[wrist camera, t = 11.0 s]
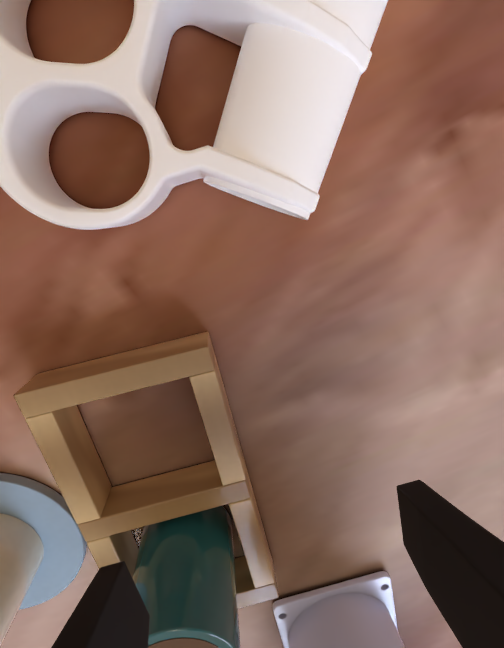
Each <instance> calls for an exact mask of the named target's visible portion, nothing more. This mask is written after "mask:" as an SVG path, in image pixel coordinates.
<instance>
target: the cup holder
mask: <svg viewBox="0 0 504 648" xmlns="http://www.w3.org/2000/svg"><path fill="white" fill-rule="evenodd" d="M186 377H189V379H190V382H191V385H192V388H193V392H194V395H195V398H196V401H197V404H198V408H199V411H200V414H201V417H202V421H203V424H204V427H205V430H206V433H207V437H208V440H209V443H210V446H211V449H212V453H213V456H214V459H215V460H214V461H210V462H206V463H203V464H199V465H195V466H191V467H187V468H184V469H180V470H176V471H172V472H168V473H165V474H161V475H157V476H153V477H149V478H146V479H142V480H138V481H134V482H130V483H127V484H123V485H119V486H115V487H112V486H111V484H110V481H109V479H108V477H107V474H106V472H105V470H104V467H103V465H102V463H101V461H100V458H99V456H98V454H97V451H96V449H95V447H94V444H93V442H92V440H91V437H90V435H89V433H88V431H87V428H86V426H85V424H84V421H83V419H82V417H81V414H80V412H79V410H78V408H77V405H79V404H83V403H87V402H91V401H95V400H99V399H103V398H107V397H111V396H115V395H118V394H122V393H126V392H130V391H134V390H138V389H142V388H146V387H150V386H154V385H158V384H162V383H166V382H170V381H174V380H178V379H182V378H186ZM14 398H15V400H16V402H17V404H18V406H19V408H20V410H21V412H22V414H23V416H24V418H26V419H25V420H26V422H27V424H28V426H29V428H30V430H31V432H32V434H33V436H34V438H35V440H36V442H37V444H38V446H39V448H40V451H41V453H42V455H43V457H44V459H45V461H46V463H47V465H48V467H49V469H50V471H51V473H52V475H53V477H54V479H55V481H56V483H57V485H58V487H59V489H60V491H61V493H62V495H63V497H64V499H65V501H66V503H67V505H68V507H69V509H70V511H71V513H72V515H73V517H74V519H75V521H76V523H77V524H78V527H79V529H80V531H81V533H82V535H83V537H84V539H85V541H86V542H87V545H88V547H89V549H90V551H91V553H92V555H93V558H94V560H95V562H96V564H97V566H98V568H99V569H100V568H101V567H104V566H107V565H111V564H115V563H118V562H122V561H125V563H126V566H127V568H128V570H129V572H130V574H131V576H132V578H133V573H134V569H135V564H136V560H137V555H138V550H139V548H138V546H137V544H136V541H135V539H134V537H133V535H132V532H131V530H133V529H137V528H140V527H144V526H148V525H151V524H155V523H159V522H163V521H166V520H170V519H174V518H178V517H181V516H185V515H189V514H192V513H196V512H200V511H204V510H207V509H211V508H215V507H219V506H222V505H226V504H229V507H230V510H231V513H232V517H233V520H234V523H235V526H236V530H237V533H238V536H239V539H240V542H241V546H242V549H243V552H244V555H245V556H242V557H239V558H235V574H236V589H237V603H238V609H240V608H244V607H247V606H251V605H254V604H258V603H261V602H265V601H269V600H272V599H276V598H279V593H278V588H277V582H276V576H275V571H274V565H273V561H272V557H271V554H270V550H269V547H268V543H267V539H266V536H265V532H264V529H263V525H262V521H261V518H260V514H259V511H258V507H257V504H256V500H255V496H254V493H253V489H252V486H251V482H250V478H249V475H248V471H247V468H246V464H245V461H244V457H243V454H242V450H241V446H240V442H239V439H238V435H237V432H236V428H235V424H234V421H233V417H232V414H231V410H230V407H229V403H228V399H227V396H226V392H225V389H224V385H223V381H222V378H221V374H220V371H219V367H218V364H217V360H216V356H215V354H214V349H213V346H212V342H211V339H210V335H209V332H204V333H200V334H196V335H192V336H188V337H184V338H180V339H176V340H171V341H167V342H163V343H159V344H155V345H151V346H147V347H143V348H139V349H135V350H131V351H127V352H123V353H119V354H115V355H111V356H107V357H103V358H99V359H95V360H91V361H87V362H83V363H79V364H75V365H71V366H67V367H63V368H59V369H55V370H51V371H47V372H43V373H39V374H36V375H35V376H34V377H33V378H32V379H31V380H30V381H29V382H28V383H27V384H25V385H24V386H23V387H22V388H21V389H20V390H19V391H18V392H17V393H15V394H14Z"/></svg>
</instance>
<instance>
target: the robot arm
mask: <svg viewBox="0 0 504 648" xmlns="http://www.w3.org/2000/svg"><path fill="white" fill-rule="evenodd" d="M397 493H398V501H399V509H400V517H401V525H402V533H403V542H404V545H405V547H406V549H407V552H408V554H409V556H410V558H411V560H412V562H413V564H414V566H415V568H416V570H417V572H418V574H419V576H420V578H421V579H422V581H423V583H424V585H425V587H426V589H427V591H428V592H429V594H430V596H431V597H432V599H433V601H434V602H435V604H436V605H437V607H438V609H439V610H440V612H441V614H442V615H443V617H444V618H445V620H446V622H447V623H448V625H449V626H450V628H451V630H452V631H453V633H454V634H455V636H456V638H457V639H458V641H459V642H460V644H461V646H462V647H463V648H504V542H503V541H501V540H500V539H499V538H497V537H496V536H494V535H493V534H491V533H490V532H489V531H487V530H486V529H484V528H483V527H482V526H480V525H479V524H478V523H476V522H475V521H473V520H472V519H471V518H469V517H468V516H467V515H465V514H464V513H463V512H461V511H460V510H459V509H457V508H456V507H455V506H453V505H452V504H451V503H449V502H448V501H447V500H446V499H444V498H443V497H442V496H440V495H439V494H438V493H436V492H435V491H434V490H433V489H431V488H430V487H429V486H427V485H426V484H425V483H424V482H422V481H420V480H416V481H413V482H409V483H406V484H402V485H398V486H397ZM273 613H274V616H275V620H276V623H277V626H278V630H279V633H280V636H281V640H282V643H283V647H284V648H405V646H404V644H403V642H402V639H401V637H400V635H399V633H398V627H397V620H396V613H395V606H394V599H393V591H392V584H391V579H390V576H389V574H388V573H387V572H385V571H380V572H376V573H373V574H369V575H365V576H362V577H358V578H355V579H351V580H348V581H344V582H340V583H337V584H333V585H330V586H326V587H323V588H319V589H315V590H312V591H308V592H305V593H301V594H298V595H294V596H291V597H287V598H283V599H280V600H277V601H275V602H274V603H273ZM149 620H150V615H149V613H148V611H147V609H146V606H145V604H144V602H143V600H142V598H141V596H140V593H139V591H138V589H137V587H136V585H135V583H134V581H133V578H132V576H131V574H130V572H129V570H128V568H127V566H126V563H125V561H122V562H118V563H115V564H111V565H107V566H104V567H101V568H100V569H99V571H98V572H97V574H96V576H95V577H94V579H93V580H92V582H91V584H90V585H89V587H88V588H87V590H86V592H85V593H84V595H83V597H82V598H81V600H80V602H79V603H78V605H77V607H76V608H75V610H74V612H73V613H72V615H71V617H70V618H69V620H68V622H67V623H66V625H65V626H64V628H63V630H62V631H61V633H60V635H59V636H58V638H57V640H56V641H55V643H54V644H53V646H52V648H148V639H149Z"/></svg>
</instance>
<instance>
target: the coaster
mask: <svg viewBox="0 0 504 648" xmlns="http://www.w3.org/2000/svg"><path fill="white" fill-rule="evenodd" d="M0 513H2V514H7V515H10V516H13V517H16V518H18V519H20V520H22V521H24V522H25V523H27V524H28V525H29V526H31V527H32V528H33V529H34V530H35V531H36V532H37V534H38V535H39V537H40V538H41V541H42V543H43V547H44V557H43V561H42V563H41V565H40V567H39V569H38V571H37V573H36V575H35V577H34V580H33V582H32V584H31V586H30V588H29V590H28V592H27V594H26V596H25V598H24V600H23V602H22V604H21V606H20V608H19V610H20V609H24V608H29V607H32V606H35V605H38V604H41V603H43V602H45V601H47V600H49V599H51V598H53V597H54V596H56V595H58V594H59V593H60V592H61V591H63V590H64V589H65V588H66V587H67V586H68V585H69V584H70V583H71V582H72V581H73V579H74V578H75V577H76V575H77V573H78V571H79V569H80V567H81V565H82V562H83V559H84V556H85V553H86V546H87V542H86V541H85V539H84V537H83V535H82V533H81V531H80V529H79V527H78V524H77V523H76V521H75V519H74V517H73V515H72V513H71V511H70V509H69V507H68V505H67V503H66V501H65V499H64V497H62V496H61V495H60V494H58V493H57V492H56V491H54V490H53V489H51V488H49V487H47V486H46V485H44V484H41V483H39V482H37V481H34V480H31V479H28V478H25V477H22V476H17V475H12V474H5V473H0Z"/></svg>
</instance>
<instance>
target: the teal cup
mask: <svg viewBox="0 0 504 648" xmlns="http://www.w3.org/2000/svg"><path fill="white" fill-rule="evenodd" d="M133 581H134V583H135V585H136V587H137V589H138V591H139V593H140V596H141V598H142V600H143V602H144V604H145V606H146V609H147V611H148V613H149V615H150V620H149V639H148V648H240V633H239V618H238V603H237V589H236V574H235V559H234V544H233V530H232V521H231V518H230V515H229V514H228V512H227V511H226V509H225V508H224V507H223V506H219V507H215V508H211V509H207V510H204V511H200V512H196V513H192V514H189V515H185V516H181V517H178V518H174V519H170V520H166V521H163V522H159V523H155V524H151V525H148V526H144V527H143V532H142V537H141V541H140V546H139V550H138V555H137V560H136V564H135V569H134V573H133Z"/></svg>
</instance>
